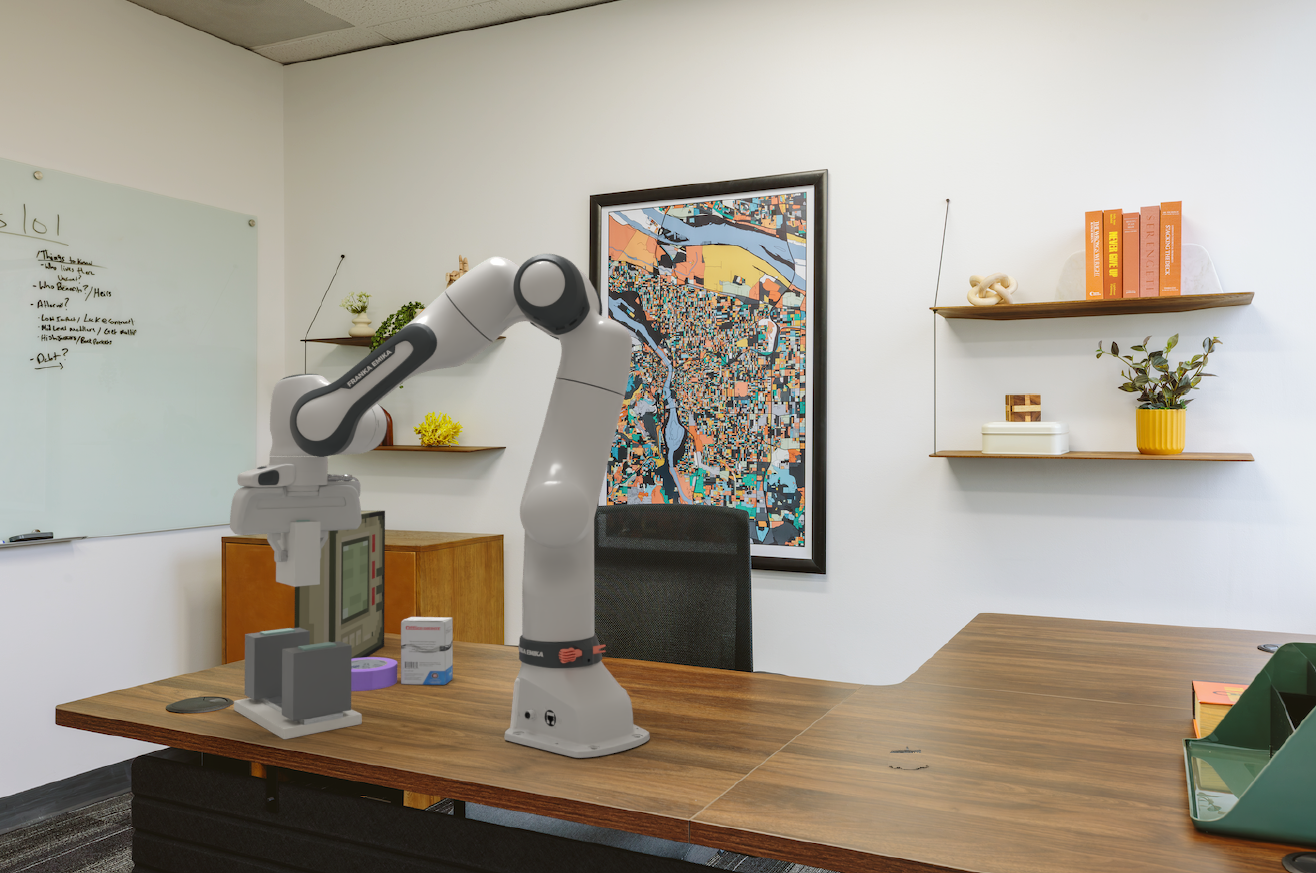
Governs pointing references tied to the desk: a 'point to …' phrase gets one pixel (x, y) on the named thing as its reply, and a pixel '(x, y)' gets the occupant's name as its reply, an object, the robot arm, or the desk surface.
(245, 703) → the mounting board
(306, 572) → the block
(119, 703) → the desk surface
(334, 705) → the mounted modules
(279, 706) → the rail
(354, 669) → the masking tape
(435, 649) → the ink box
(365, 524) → the control panel
